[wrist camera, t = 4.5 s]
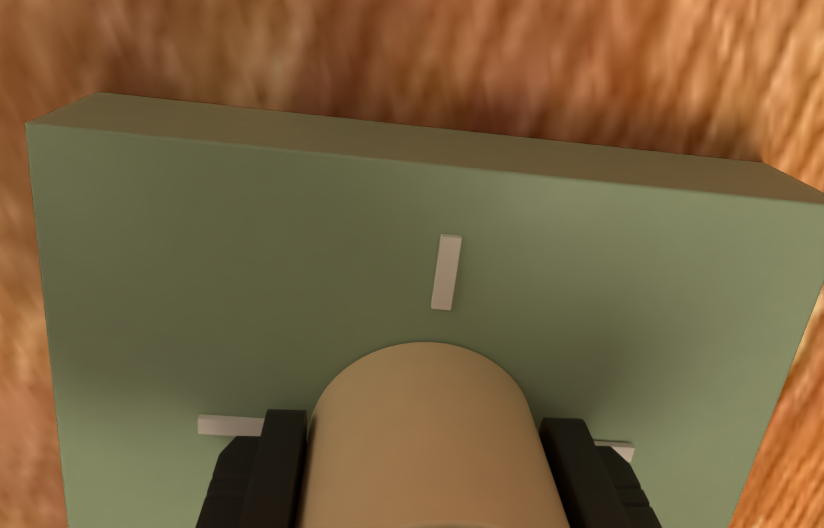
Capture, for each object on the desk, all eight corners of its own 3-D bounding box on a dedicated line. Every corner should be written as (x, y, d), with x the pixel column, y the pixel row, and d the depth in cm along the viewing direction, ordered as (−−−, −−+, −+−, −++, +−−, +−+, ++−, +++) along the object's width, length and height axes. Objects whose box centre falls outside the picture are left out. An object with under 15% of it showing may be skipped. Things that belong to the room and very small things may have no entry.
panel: (766, 162, 15) (860, 210, 12) (640, 546, 19) (687, 649, 16) (95, 90, 14) (17, 124, 11) (122, 517, 18) (73, 624, 15)
